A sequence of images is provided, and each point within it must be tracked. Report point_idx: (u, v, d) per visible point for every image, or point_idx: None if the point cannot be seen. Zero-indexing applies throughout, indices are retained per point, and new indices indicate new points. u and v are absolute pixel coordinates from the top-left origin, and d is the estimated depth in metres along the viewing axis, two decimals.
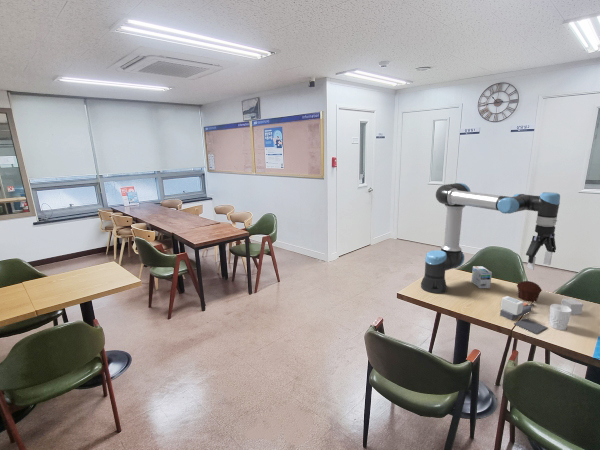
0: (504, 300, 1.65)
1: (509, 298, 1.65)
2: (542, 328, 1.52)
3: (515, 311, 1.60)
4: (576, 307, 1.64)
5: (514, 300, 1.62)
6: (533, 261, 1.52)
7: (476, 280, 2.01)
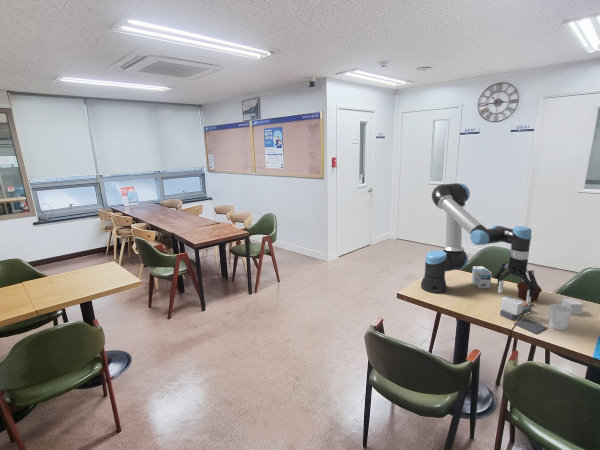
0: (504, 300, 1.65)
1: (509, 298, 1.65)
2: (542, 328, 1.52)
3: (515, 311, 1.60)
4: (576, 307, 1.64)
5: (514, 300, 1.62)
6: (499, 284, 1.67)
7: (476, 280, 2.01)
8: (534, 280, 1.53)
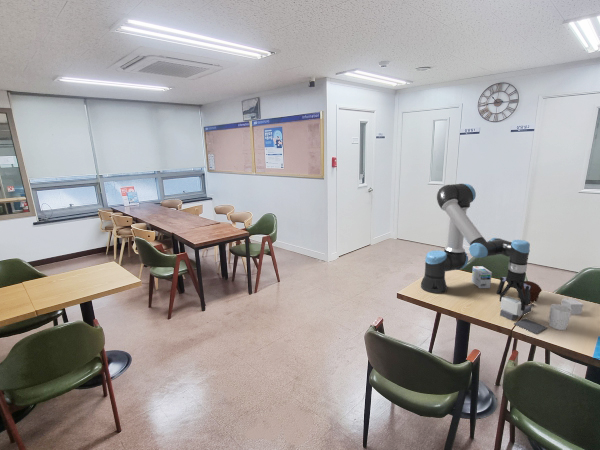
0: (504, 300, 1.65)
1: (509, 298, 1.65)
2: (542, 328, 1.52)
3: (515, 311, 1.60)
4: (576, 307, 1.64)
5: (514, 300, 1.62)
6: (501, 300, 1.67)
7: (476, 280, 2.01)
8: (528, 295, 1.56)
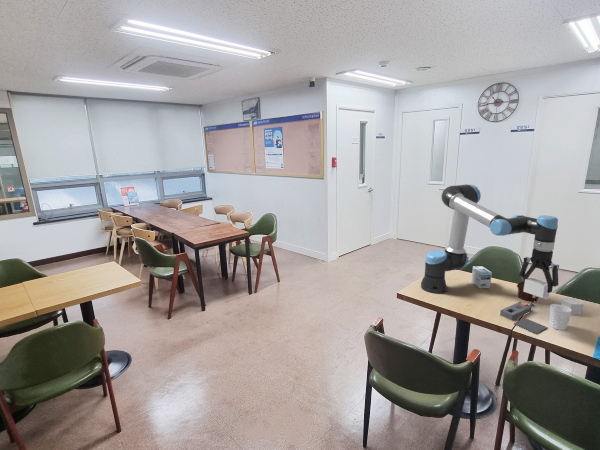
0: (528, 282, 1.51)
1: (534, 280, 1.51)
2: (542, 328, 1.52)
3: (541, 293, 1.47)
4: (576, 307, 1.64)
5: (539, 282, 1.49)
6: (524, 283, 1.54)
7: (476, 280, 2.01)
8: (556, 275, 1.43)
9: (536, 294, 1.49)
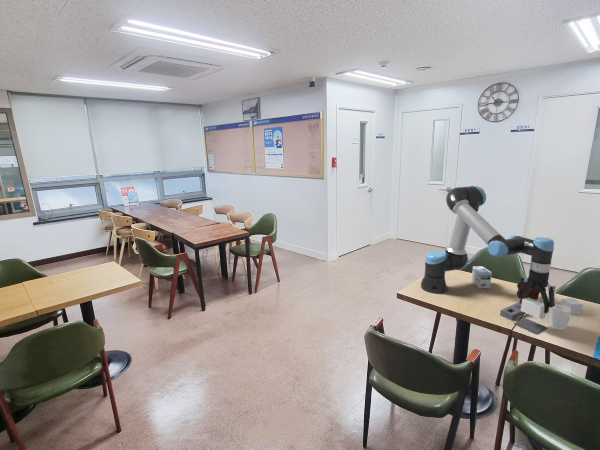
0: (525, 302, 1.53)
1: (531, 300, 1.54)
2: (542, 328, 1.52)
3: (537, 313, 1.49)
4: (576, 307, 1.64)
5: (536, 302, 1.51)
6: None
7: (476, 280, 2.01)
8: (553, 296, 1.45)
9: (533, 314, 1.51)
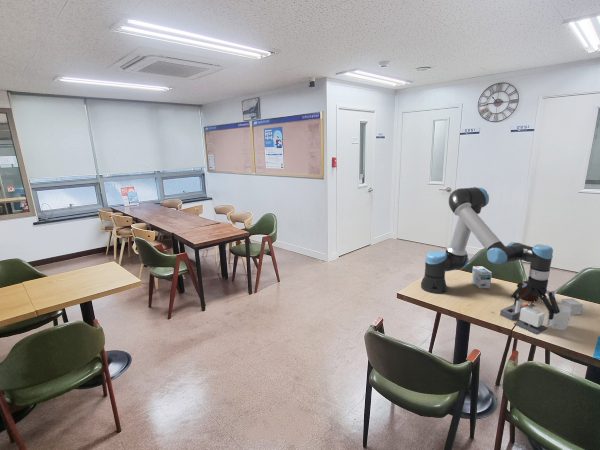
0: (523, 311, 1.55)
1: (529, 309, 1.55)
2: (542, 328, 1.52)
3: (535, 322, 1.51)
4: (576, 307, 1.64)
5: (534, 311, 1.53)
6: (516, 304, 1.59)
7: (476, 280, 2.01)
8: (555, 302, 1.45)
9: (531, 323, 1.52)
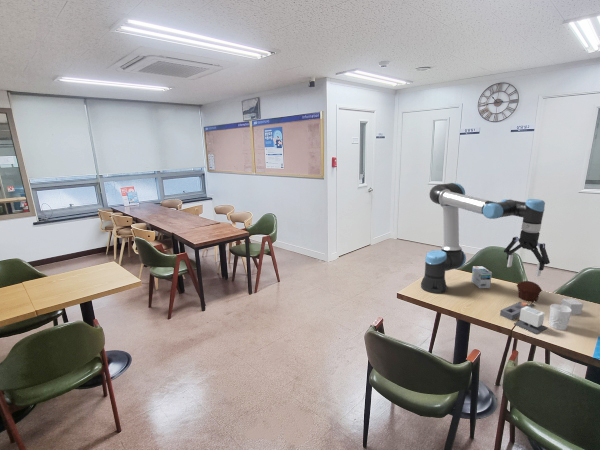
0: (523, 311, 1.55)
1: (529, 309, 1.55)
2: (542, 328, 1.52)
3: (535, 322, 1.51)
4: (576, 307, 1.64)
5: (534, 311, 1.53)
6: None
7: (476, 280, 2.01)
8: (545, 253, 1.51)
9: (531, 323, 1.52)
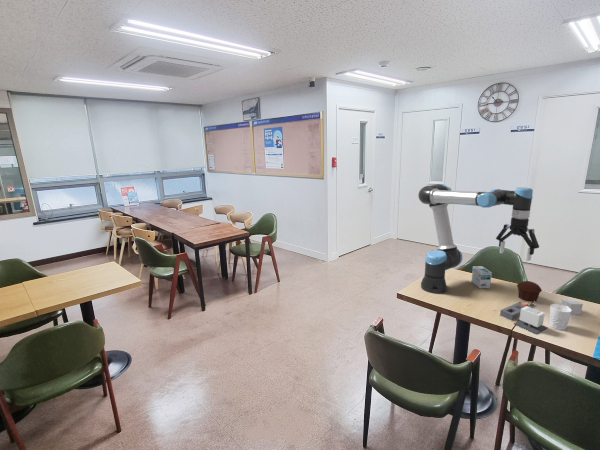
0: (523, 311, 1.55)
1: (529, 309, 1.55)
2: (542, 328, 1.52)
3: (535, 322, 1.51)
4: (576, 307, 1.64)
5: (534, 311, 1.53)
6: None
7: (476, 280, 2.01)
8: (534, 238, 1.59)
9: (531, 323, 1.52)
